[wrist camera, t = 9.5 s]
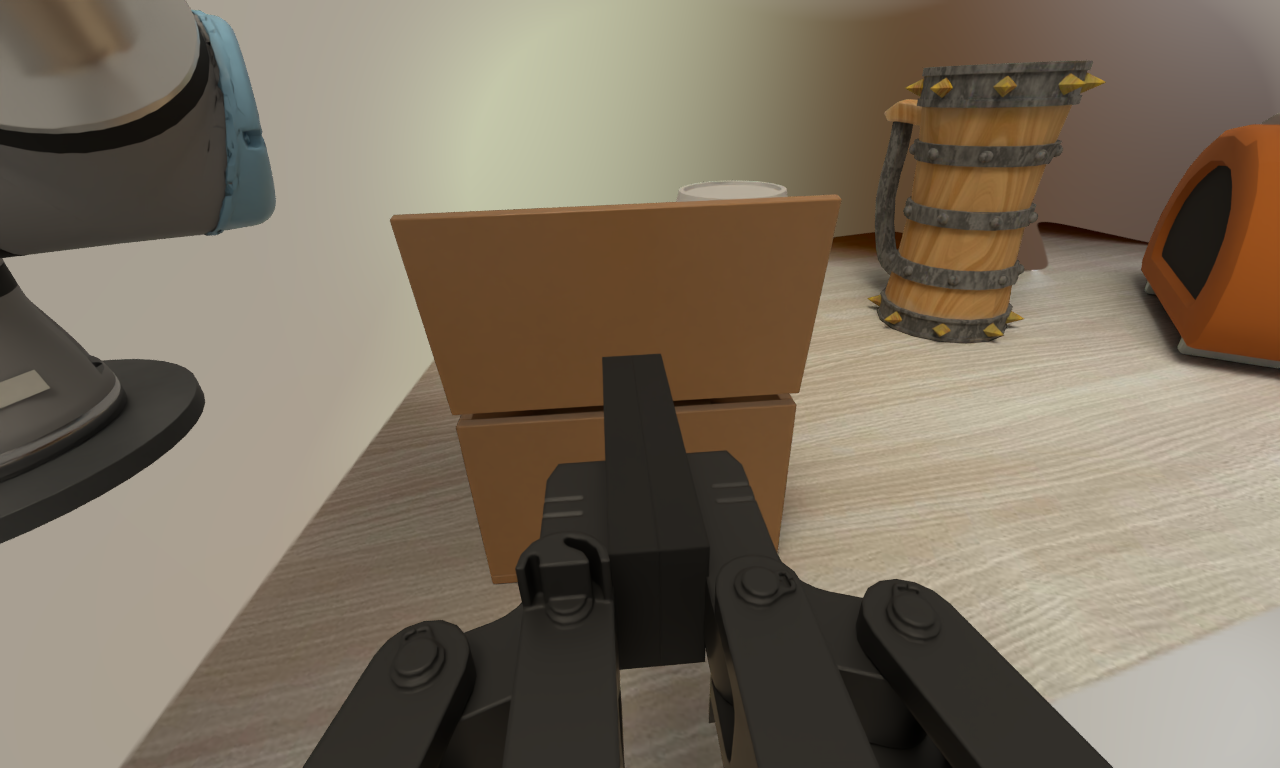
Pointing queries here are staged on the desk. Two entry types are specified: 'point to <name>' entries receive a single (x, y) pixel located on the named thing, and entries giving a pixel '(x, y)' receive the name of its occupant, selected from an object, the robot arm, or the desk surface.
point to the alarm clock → (1224, 249)
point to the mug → (968, 192)
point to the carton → (541, 439)
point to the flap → (618, 296)
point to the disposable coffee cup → (730, 191)
